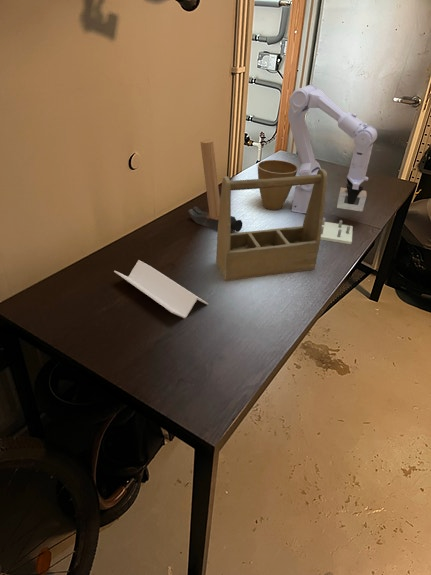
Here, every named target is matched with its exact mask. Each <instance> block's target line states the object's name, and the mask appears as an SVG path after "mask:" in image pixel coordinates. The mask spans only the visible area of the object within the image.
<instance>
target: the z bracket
mask: <svg viewBox="0 0 431 575" xmlns="http://www.w3.org/2000/svg"><path fill="white" fill-rule="evenodd" d="M113 272H114V273H115V274H116V275H118V276H120V277H121V278H122V279H124V280H125V281H126V282H127V283H129V284H131V285H132V286H134V287H135V288H136V289H138V290H139V291H140V292H142V293H143V294H145V295H147V297H149V298H151V299H152V300H153V301H155V302H156V303H158V305H161V307H164V308H165V310H167V311H168V312H170V313H171V314H173V315H176V316H178V317H180V318H183V319H186V318H187V317H188V315H189V314H190V312H191V311H192V309H193V307H194V305H195V303H197V301H199V302H201V303H203V304H205V305H209V303H208V302H207V301H205V300H203V299H202V298H200V297H199V296H197V295H196V294H194V293H193V292H191V291H190V290H188V289H187V288H185V287H184V286H182V285H180V284H179V283H177V282H176V281H174V280H173V279H171V278H170V277H168V276H167V275H165V274H163V273H162V272H160V271H159V270H157V269H155V268H154V267H152V266H151V265H149V264H147V263H145V262H144V261H141V260H140V259H138V260H137V262H136V264H135V265H134V267H133V268H132V269H131V272H130V274H129V275H125V274H123V273H121V272H119V271H116V270H114V271H113Z"/></svg>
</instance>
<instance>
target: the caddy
mask: <svg viewBox="0 0 431 575" xmlns="http://www.w3.org/2000/svg"><path fill="white" fill-rule="evenodd" d="M307 184H314V186H313V189H312V194H311V198H310V201H309V204H308V208H307V212H306V214H305V216H304V218H303V219H304V220H303V223H302V225H298V226H291V227H280V228H279V227H278V228H270V229H269V228H268V229H261V230H252V231H241V232H240V231H239V232H234V233H231V216H232V214H231V212H232V210H231V206H232V204H231V202H232V199H231V198H232V194H231V193H232V191H243V190H246V191H247V190H258V189H259V190H260V188H272V187H284V186H292V187H296V186H300V185H307ZM327 185H328V173H327V170H325V169H324V168H321V169H319V170H318V172H317V175H306V176H300V175H296V176H294V177H283V178H272V179H258V178H255V179H251V178H250V179H240V180H239V179H238V180H231V179H230V178H229V176H223V177H222V181H221V190H220V192H221V193H220V211H219V221H218V231H217V234H216V254H215V255H216V256H215V257H216V258H215V264H216V265H217V268H218V269H219V271H220V274H221V276H222V277H223V279H224V281H225V282H228V281H236V280H242V279H243V280H244V279H249V278H250V279H251V278H257V277H263V276H264V277H265V276H273V275H280V274H286V273H295V272H303V271H310V270H314V269H316V265H317V258H318V254H319V251H320V250H319V249H320V244H321V230H322V221H323V218H324V210H325V204H326V203H325V202H326V196H327V195H326V194H327Z"/></svg>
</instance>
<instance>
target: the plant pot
mask: <svg viewBox="0 0 431 575" xmlns="http://www.w3.org/2000/svg"><path fill="white" fill-rule="evenodd" d="M298 169H299V168H298V166H297V165H295V163H292V162H289V161H284V160H280V159H279V160H278V159H269V160H268V159H267V160H263V161H260V162H259V163H258V164H257V179H272V178H283V177H294V176H297V172H298ZM292 187H293V186H284V187H272V188H260V189H259V193H260V198H261V203H262V206H263V208H265V209H268V210H271V211H272V210H273V211H275V210H276V211H278V210H280V209H282V208H283V206H284V205H285V202H286V200H287V199H288V197H289V194H290V193H291V190H292Z"/></svg>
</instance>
